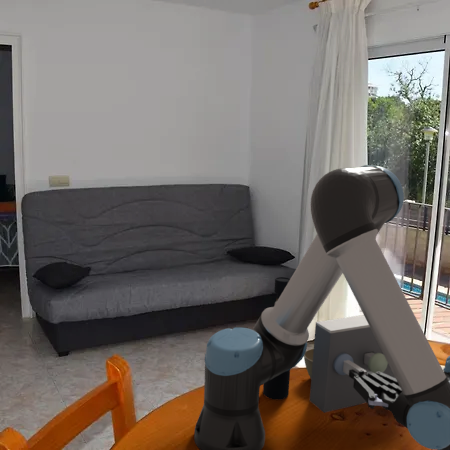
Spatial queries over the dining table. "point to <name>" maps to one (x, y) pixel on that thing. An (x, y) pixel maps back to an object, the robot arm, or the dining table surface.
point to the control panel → (327, 352)
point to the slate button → (341, 362)
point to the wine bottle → (280, 383)
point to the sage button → (375, 362)
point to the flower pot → (309, 361)
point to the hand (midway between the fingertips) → (345, 365)
